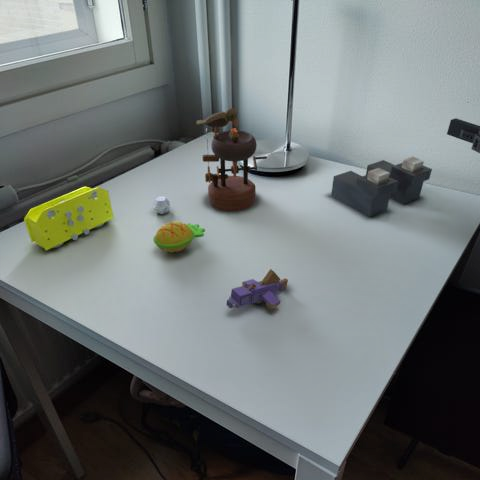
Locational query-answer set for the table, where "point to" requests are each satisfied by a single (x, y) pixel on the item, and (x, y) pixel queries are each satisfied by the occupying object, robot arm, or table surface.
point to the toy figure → (258, 292)
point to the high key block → (363, 192)
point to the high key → (378, 176)
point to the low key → (412, 164)
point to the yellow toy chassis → (68, 216)
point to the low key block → (403, 180)
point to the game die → (161, 205)
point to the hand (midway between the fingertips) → (451, 126)
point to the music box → (232, 149)
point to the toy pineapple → (177, 236)
